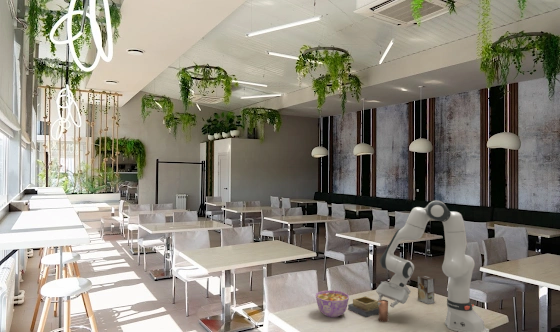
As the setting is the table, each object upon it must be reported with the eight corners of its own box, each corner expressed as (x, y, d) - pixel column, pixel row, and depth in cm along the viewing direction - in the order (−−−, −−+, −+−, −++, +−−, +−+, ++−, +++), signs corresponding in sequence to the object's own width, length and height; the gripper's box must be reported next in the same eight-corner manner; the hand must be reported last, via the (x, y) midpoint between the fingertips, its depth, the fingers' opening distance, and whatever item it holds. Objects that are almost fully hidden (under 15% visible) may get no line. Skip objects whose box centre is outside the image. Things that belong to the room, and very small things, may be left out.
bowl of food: (322, 322, 218) (322, 302, 219) (310, 310, 238) (310, 291, 238) (354, 319, 224) (354, 299, 224) (340, 307, 243) (340, 289, 243)
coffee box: (435, 302, 253) (435, 278, 253) (427, 304, 250) (427, 279, 251) (424, 298, 261) (424, 274, 262) (417, 299, 259) (417, 276, 259)
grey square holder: (383, 312, 236) (383, 301, 236) (365, 317, 227) (365, 306, 227) (365, 304, 248) (365, 294, 248) (348, 309, 240) (348, 298, 240)
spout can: (389, 320, 223) (390, 301, 223) (381, 323, 219) (381, 303, 219) (383, 317, 227) (383, 299, 227) (374, 320, 223) (374, 301, 223)
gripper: (380, 277, 238) (369, 295, 232) (408, 286, 220) (396, 306, 215) (385, 283, 240) (374, 301, 235) (413, 292, 223) (401, 312, 218)
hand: (385, 304), depth 225 cm, fingers open, 8 cm apart
